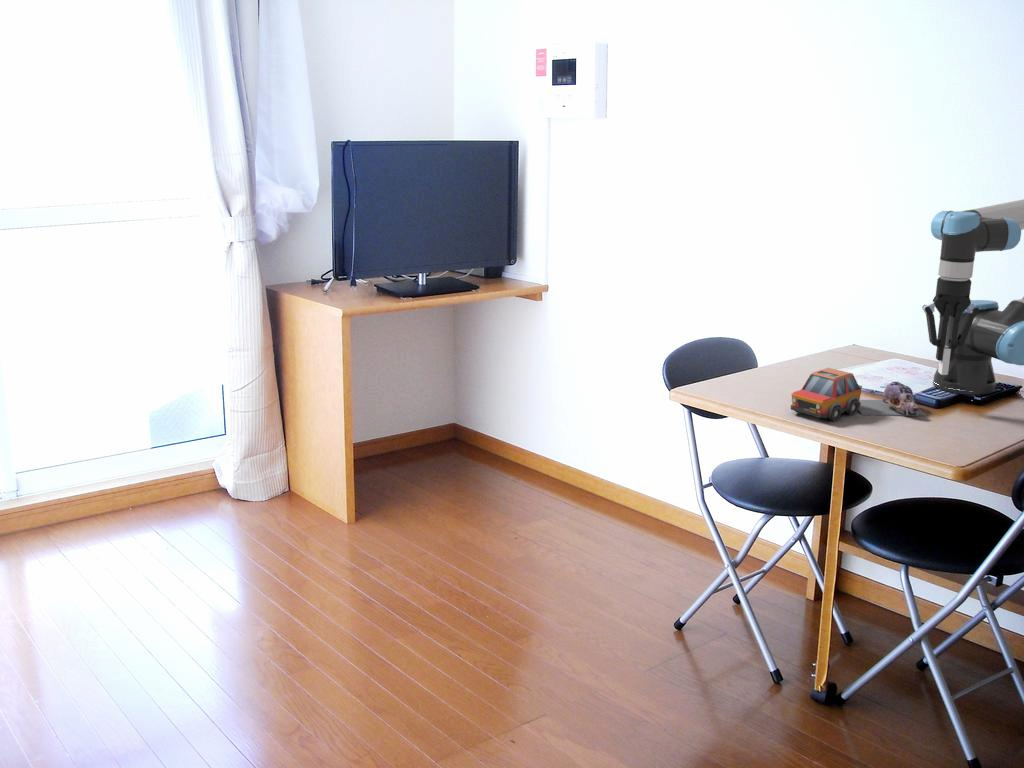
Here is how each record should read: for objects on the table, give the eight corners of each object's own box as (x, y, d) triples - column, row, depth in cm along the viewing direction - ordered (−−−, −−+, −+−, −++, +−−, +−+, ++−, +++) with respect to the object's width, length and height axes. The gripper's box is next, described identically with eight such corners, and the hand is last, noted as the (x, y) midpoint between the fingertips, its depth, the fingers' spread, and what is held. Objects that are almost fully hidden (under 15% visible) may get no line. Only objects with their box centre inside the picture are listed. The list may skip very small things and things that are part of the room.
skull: (926, 418, 251) (929, 393, 250) (894, 418, 251) (897, 394, 249) (907, 402, 263) (909, 379, 261) (877, 403, 263) (879, 379, 261)
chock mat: (911, 401, 265) (912, 400, 264) (925, 416, 254) (925, 414, 253) (851, 400, 266) (851, 399, 266) (861, 415, 255) (861, 413, 255)
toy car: (784, 414, 256) (787, 375, 254) (825, 400, 267) (828, 362, 264) (824, 426, 248) (828, 385, 245) (865, 411, 258) (869, 372, 255)
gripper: (977, 275, 252) (965, 369, 258) (921, 274, 253) (911, 368, 259) (988, 281, 244) (975, 378, 251) (931, 280, 245) (919, 376, 252)
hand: (942, 373), depth 255 cm, fingers closed
